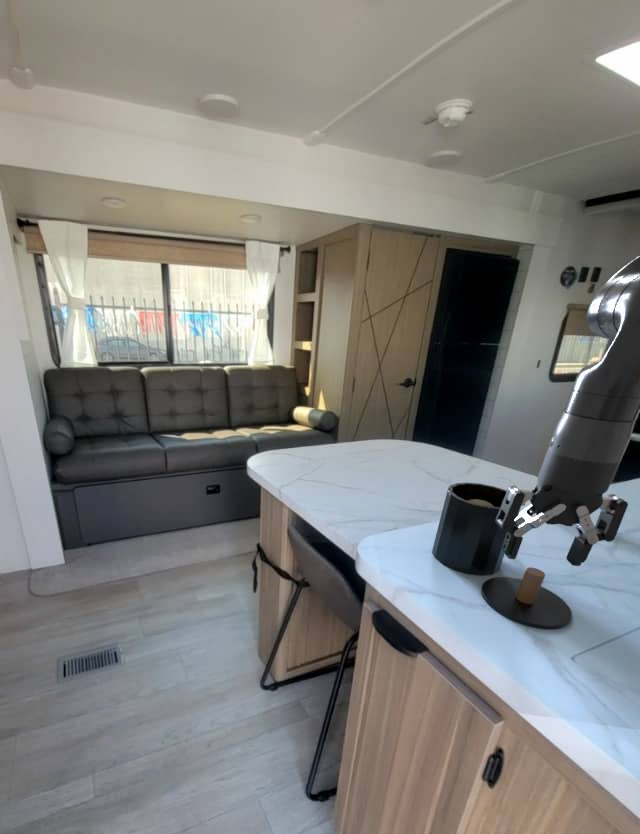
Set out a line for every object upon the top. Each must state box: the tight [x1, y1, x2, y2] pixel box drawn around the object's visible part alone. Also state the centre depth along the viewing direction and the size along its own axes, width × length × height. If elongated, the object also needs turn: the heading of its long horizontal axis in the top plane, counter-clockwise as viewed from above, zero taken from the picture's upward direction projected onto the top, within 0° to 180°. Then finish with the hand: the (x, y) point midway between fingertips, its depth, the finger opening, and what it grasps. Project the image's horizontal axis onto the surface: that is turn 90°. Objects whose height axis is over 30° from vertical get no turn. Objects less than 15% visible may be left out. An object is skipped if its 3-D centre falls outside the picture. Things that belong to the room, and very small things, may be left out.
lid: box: [480, 567, 573, 630], centre depth 61 cm, size 12×12×6 cm
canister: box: [431, 482, 522, 577], centre depth 71 cm, size 11×11×13 cm
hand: (540, 559), depth 58 cm, fingers open, 8 cm apart
